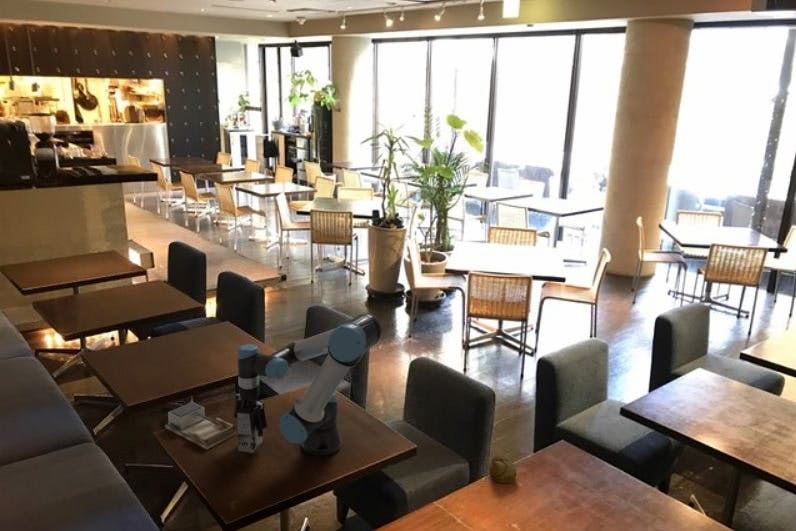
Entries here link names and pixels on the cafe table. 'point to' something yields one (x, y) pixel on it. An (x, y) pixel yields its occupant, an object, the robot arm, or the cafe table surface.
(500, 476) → the olive snail shell
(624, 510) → the cafe table surface
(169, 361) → the cafe table surface
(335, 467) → the cafe table surface
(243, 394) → the robot arm
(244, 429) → the coffee box
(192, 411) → the housing
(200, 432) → the silver tray
